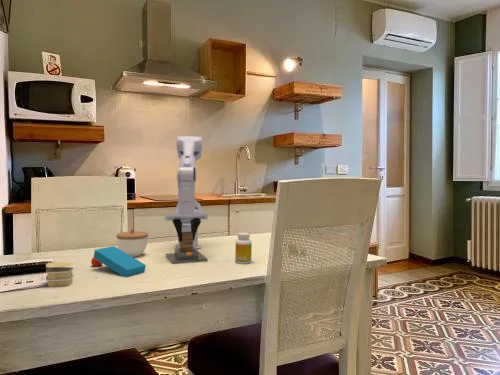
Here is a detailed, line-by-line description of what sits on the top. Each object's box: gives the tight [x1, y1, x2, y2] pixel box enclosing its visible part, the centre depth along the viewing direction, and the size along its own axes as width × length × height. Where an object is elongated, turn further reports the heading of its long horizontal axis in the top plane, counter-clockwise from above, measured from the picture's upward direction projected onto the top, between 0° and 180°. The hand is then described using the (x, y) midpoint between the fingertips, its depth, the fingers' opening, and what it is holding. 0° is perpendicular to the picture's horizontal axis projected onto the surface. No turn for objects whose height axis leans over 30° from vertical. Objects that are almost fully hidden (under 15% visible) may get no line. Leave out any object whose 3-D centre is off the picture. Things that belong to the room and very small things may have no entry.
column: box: [180, 232, 193, 252], centre depth 139 cm, size 4×4×7 cm
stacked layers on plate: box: [45, 261, 75, 288], centre depth 108 cm, size 10×9×6 cm
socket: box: [165, 247, 209, 265], centre depth 139 cm, size 12×12×3 cm
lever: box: [91, 245, 147, 278], centre depth 123 cm, size 7×7×19 cm
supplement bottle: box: [234, 232, 253, 265], centre depth 135 cm, size 5×5×10 cm
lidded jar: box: [116, 228, 149, 258], centre depth 143 cm, size 11×11×9 cm
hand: (186, 240), depth 139 cm, fingers closed on column, 4 cm apart
